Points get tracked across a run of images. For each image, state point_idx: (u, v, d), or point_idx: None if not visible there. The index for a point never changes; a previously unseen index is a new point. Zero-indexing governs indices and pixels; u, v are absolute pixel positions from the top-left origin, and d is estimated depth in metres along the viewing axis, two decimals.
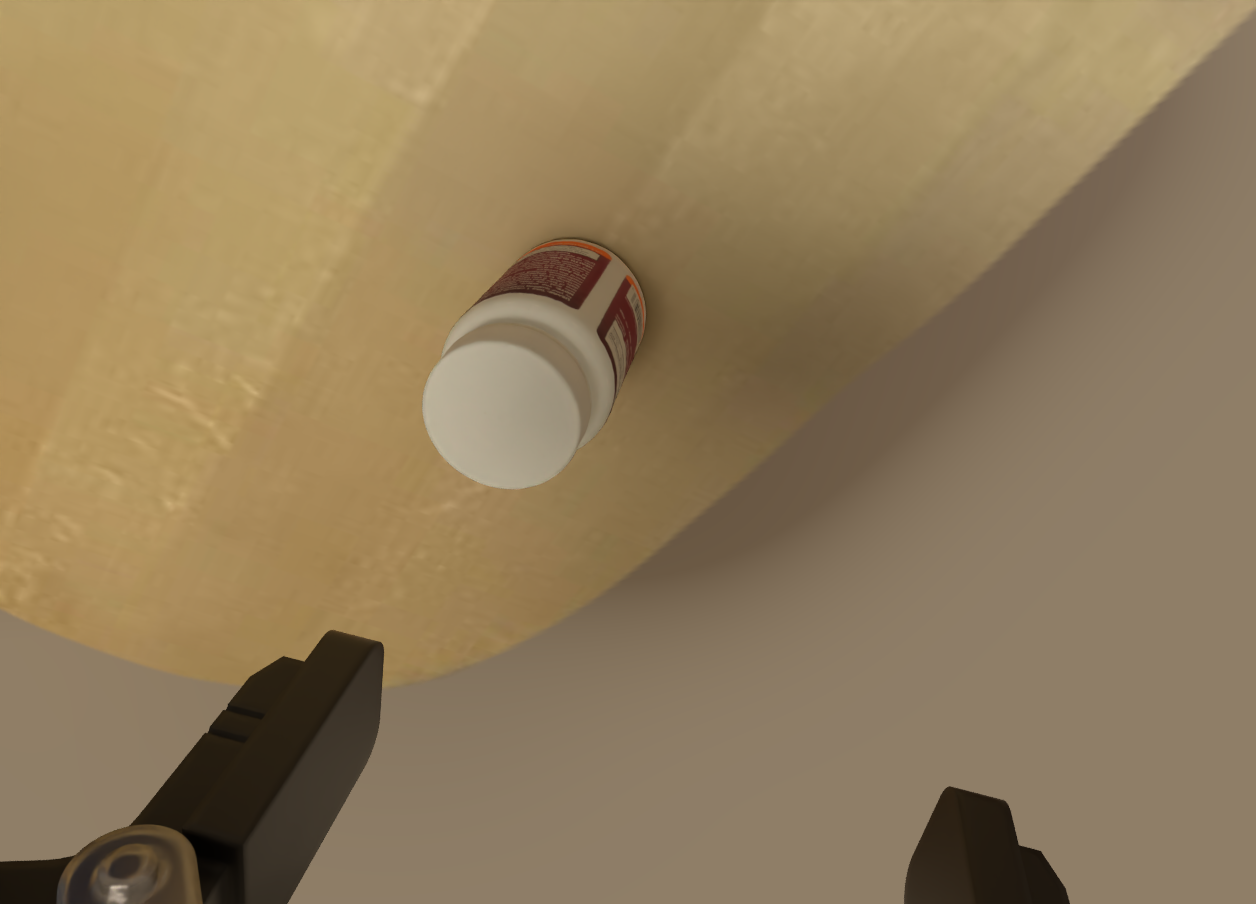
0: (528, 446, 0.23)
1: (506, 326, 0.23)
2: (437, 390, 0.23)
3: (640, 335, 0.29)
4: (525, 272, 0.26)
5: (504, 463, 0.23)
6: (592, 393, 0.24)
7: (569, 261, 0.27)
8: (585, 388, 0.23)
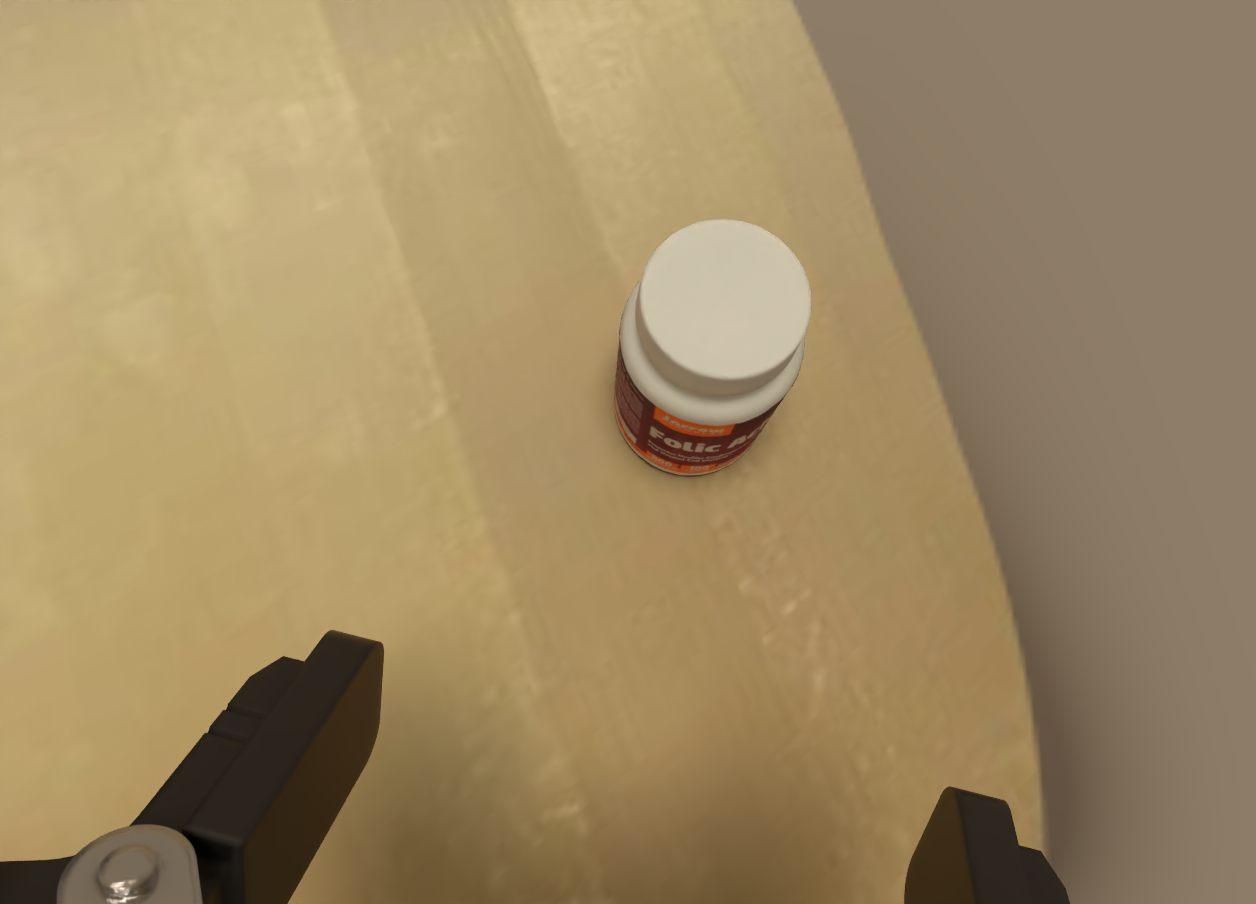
0: (767, 290, 0.22)
1: None
2: (666, 331, 0.21)
3: None
4: None
5: (772, 323, 0.21)
6: None
7: None
8: None
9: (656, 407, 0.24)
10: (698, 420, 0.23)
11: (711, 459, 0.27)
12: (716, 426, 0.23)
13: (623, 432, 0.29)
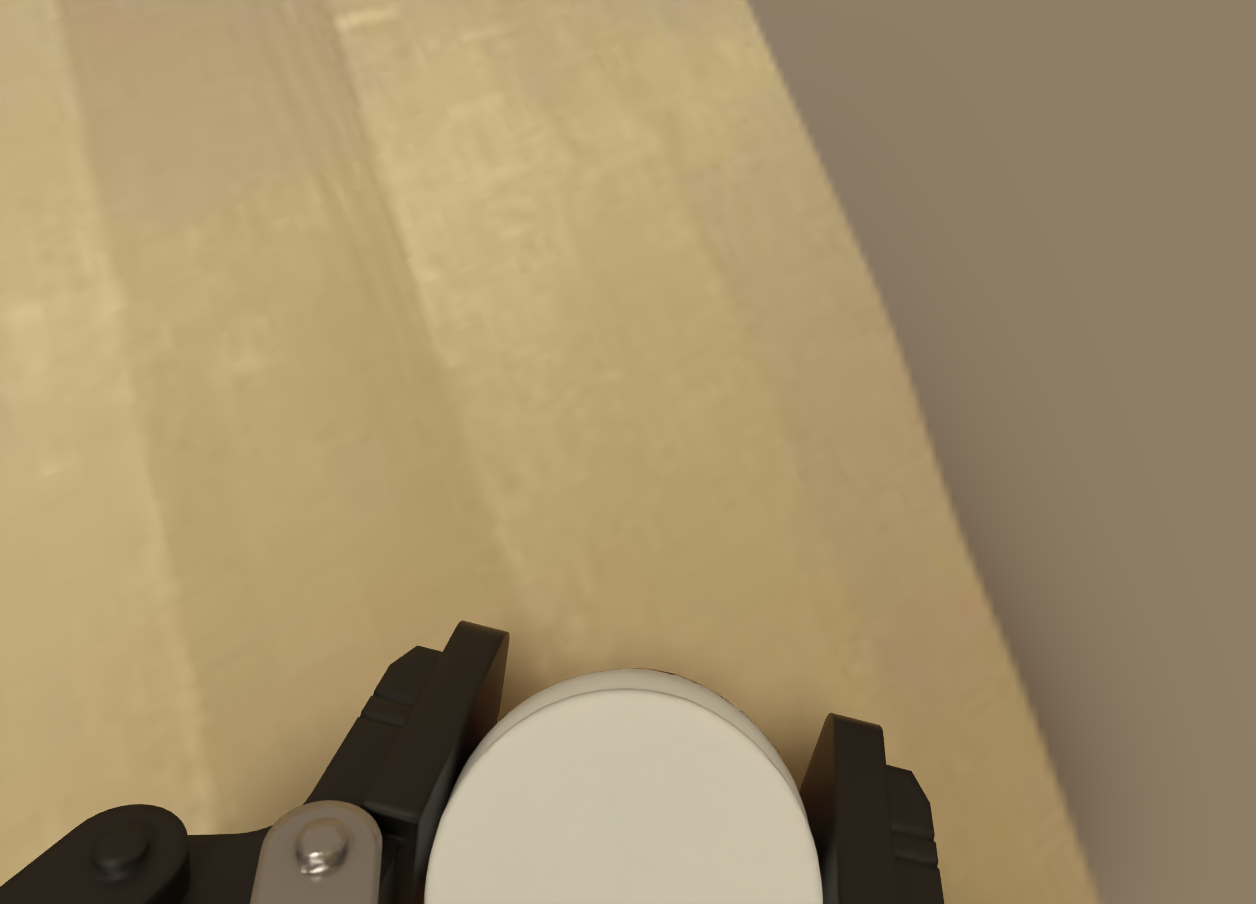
0: (719, 876, 0.09)
1: None
2: None
3: None
4: None
5: None
6: None
7: None
8: None
9: None
10: None
11: None
12: None
13: None
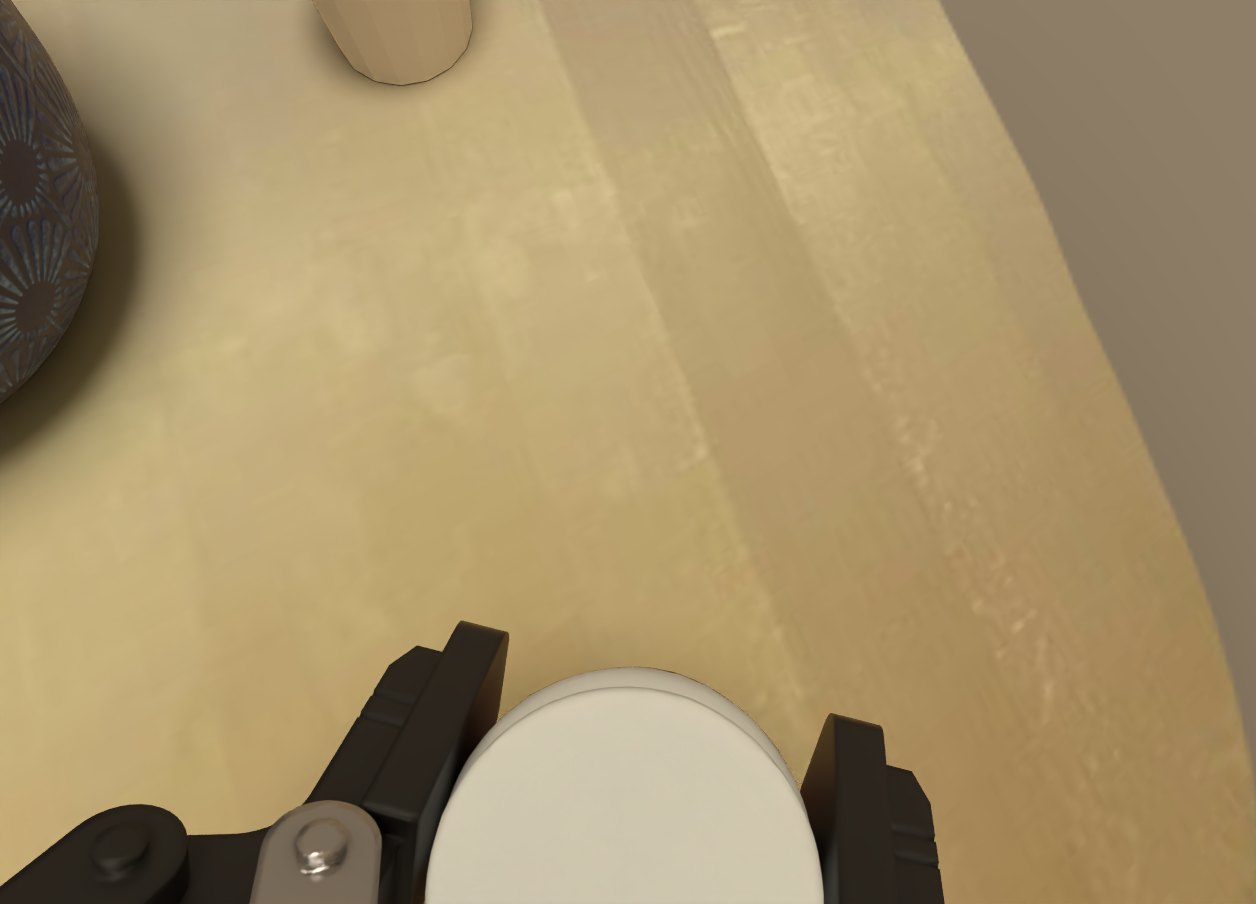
0: (719, 875, 0.09)
1: None
2: None
3: None
4: None
5: None
6: None
7: None
8: None
9: None
10: None
11: None
12: None
13: None
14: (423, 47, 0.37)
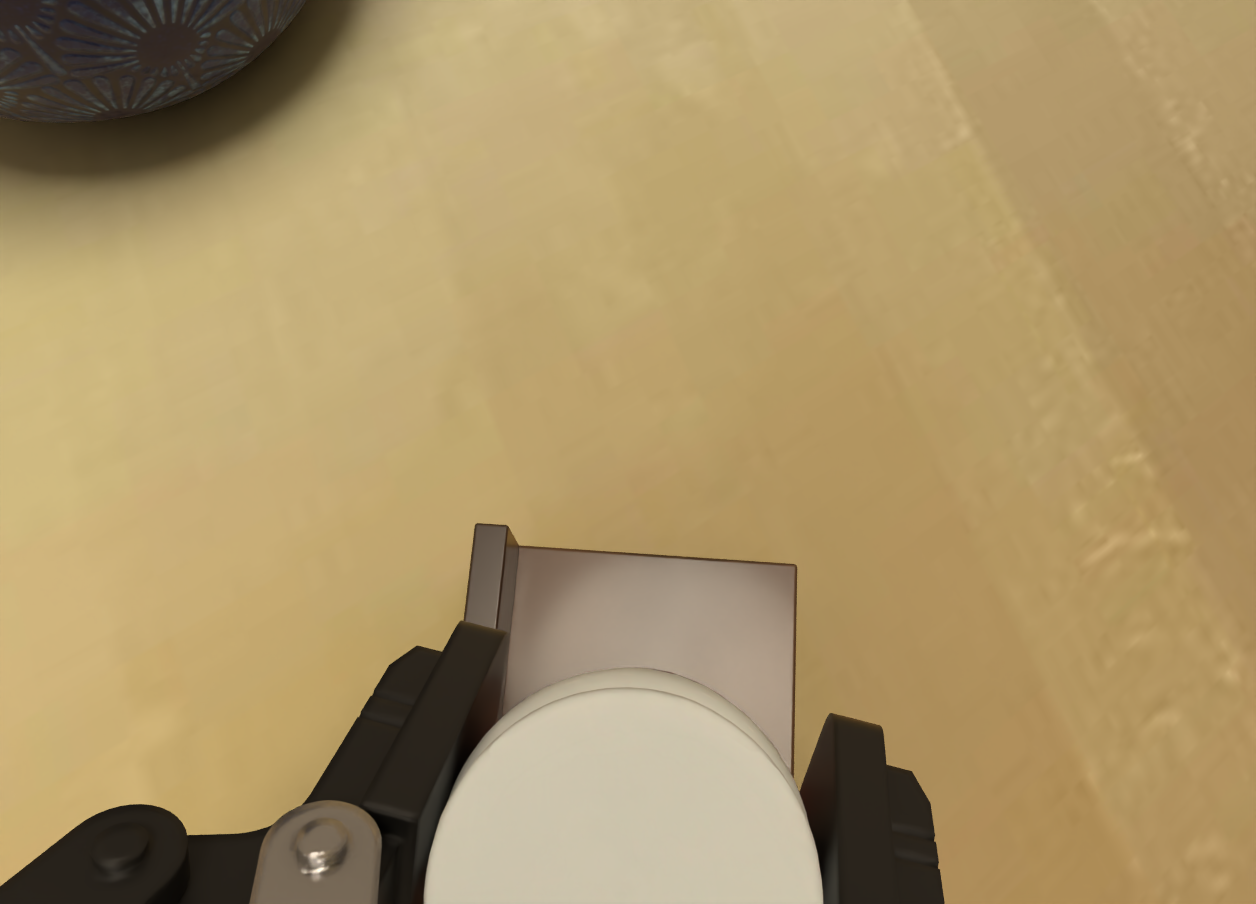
0: (719, 875, 0.09)
1: None
2: None
3: None
4: None
5: None
6: None
7: None
8: None
9: None
10: None
11: None
12: None
13: None
14: None
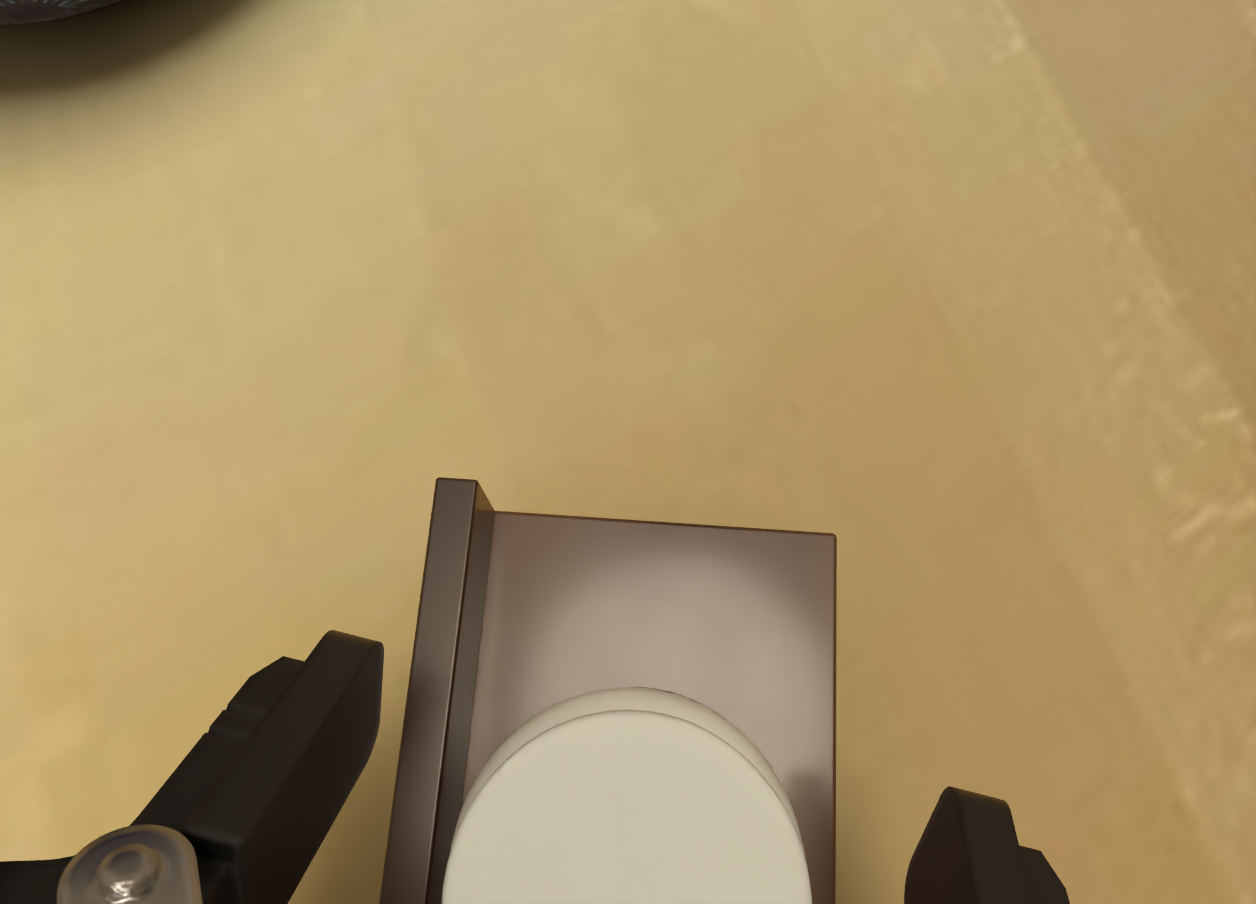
0: (715, 886, 0.10)
1: None
2: None
3: None
4: None
5: None
6: None
7: None
8: None
9: None
10: None
11: None
12: None
13: None
14: None
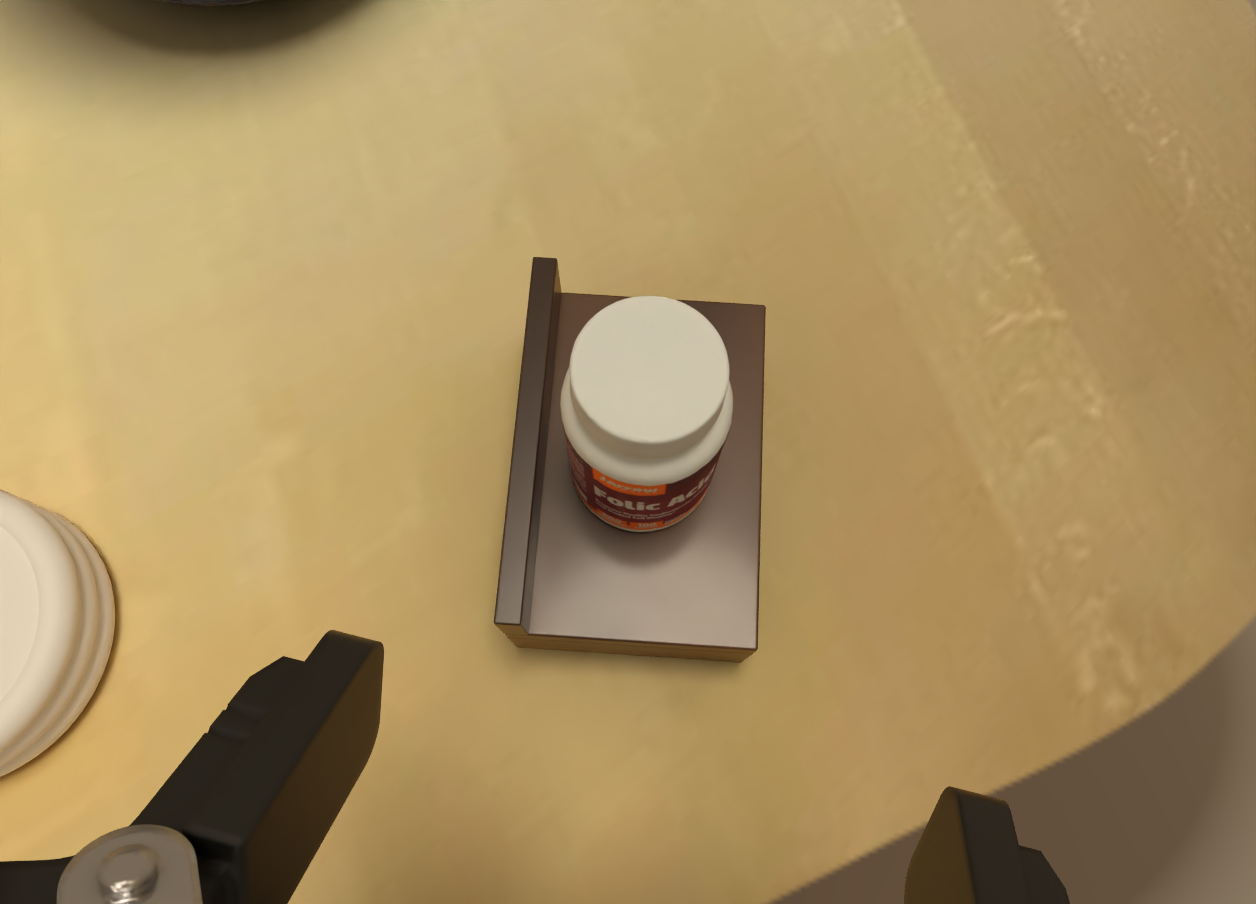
0: (687, 361, 0.23)
1: None
2: (593, 399, 0.23)
3: None
4: None
5: (691, 391, 0.23)
6: None
7: None
8: None
9: (592, 468, 0.25)
10: (630, 481, 0.25)
11: (655, 517, 0.28)
12: (648, 486, 0.25)
13: (577, 491, 0.30)
14: None
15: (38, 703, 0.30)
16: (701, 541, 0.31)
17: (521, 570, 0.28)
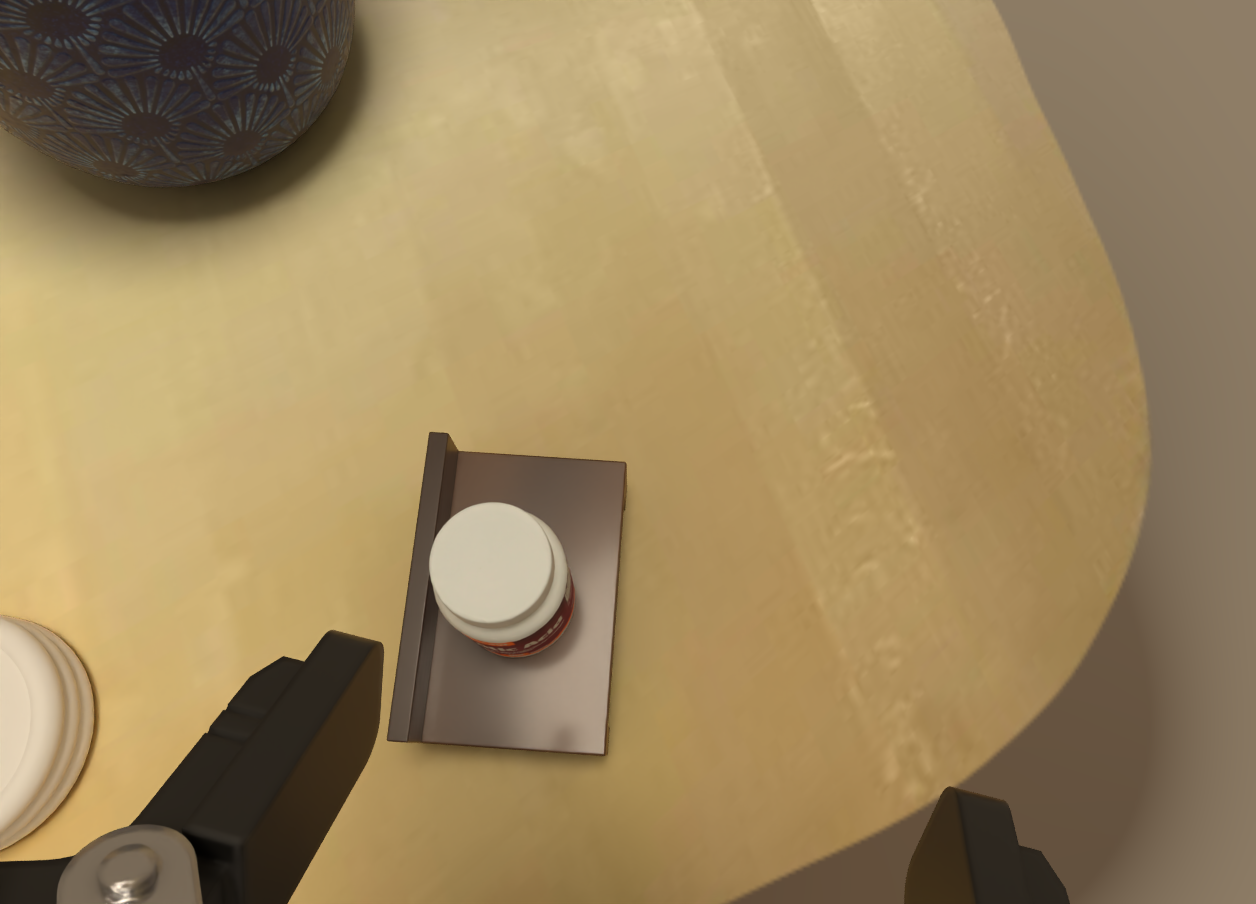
0: (519, 556, 0.31)
1: None
2: (445, 588, 0.30)
3: None
4: None
5: (521, 581, 0.30)
6: None
7: None
8: None
9: None
10: (483, 640, 0.32)
11: (518, 652, 0.36)
12: (498, 643, 0.32)
13: None
14: None
15: (30, 795, 0.37)
16: (564, 664, 0.38)
17: (409, 696, 0.35)
